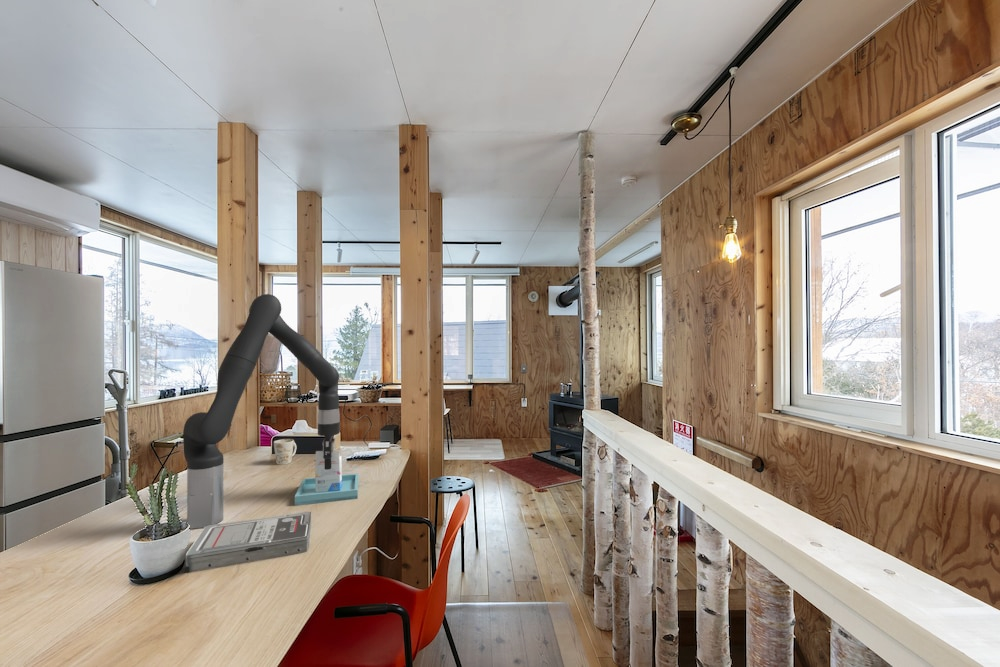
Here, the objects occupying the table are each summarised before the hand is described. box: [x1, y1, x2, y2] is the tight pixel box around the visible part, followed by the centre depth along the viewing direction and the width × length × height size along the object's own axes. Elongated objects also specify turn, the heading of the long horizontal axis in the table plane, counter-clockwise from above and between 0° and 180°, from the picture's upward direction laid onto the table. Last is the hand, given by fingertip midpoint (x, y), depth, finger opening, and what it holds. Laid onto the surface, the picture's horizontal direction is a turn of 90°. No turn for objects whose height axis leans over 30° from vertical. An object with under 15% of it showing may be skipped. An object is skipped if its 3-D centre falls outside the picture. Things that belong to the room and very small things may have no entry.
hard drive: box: [183, 511, 312, 574], centre depth 116 cm, size 18×27×4 cm
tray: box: [294, 473, 359, 506], centre depth 158 cm, size 20×20×3 cm
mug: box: [273, 438, 298, 465], centre depth 200 cm, size 8×13×10 cm, turn 170°
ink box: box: [314, 449, 343, 492], centre depth 158 cm, size 8×5×15 cm, turn 101°
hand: (328, 465), depth 158 cm, fingers open, 8 cm apart
